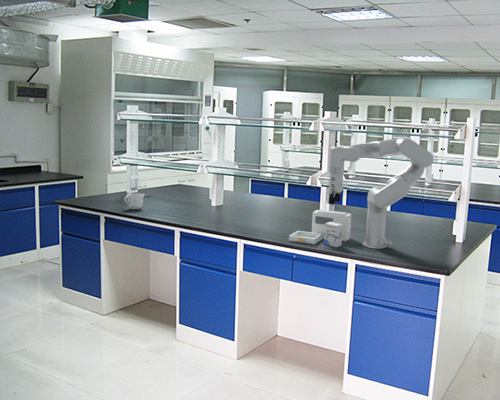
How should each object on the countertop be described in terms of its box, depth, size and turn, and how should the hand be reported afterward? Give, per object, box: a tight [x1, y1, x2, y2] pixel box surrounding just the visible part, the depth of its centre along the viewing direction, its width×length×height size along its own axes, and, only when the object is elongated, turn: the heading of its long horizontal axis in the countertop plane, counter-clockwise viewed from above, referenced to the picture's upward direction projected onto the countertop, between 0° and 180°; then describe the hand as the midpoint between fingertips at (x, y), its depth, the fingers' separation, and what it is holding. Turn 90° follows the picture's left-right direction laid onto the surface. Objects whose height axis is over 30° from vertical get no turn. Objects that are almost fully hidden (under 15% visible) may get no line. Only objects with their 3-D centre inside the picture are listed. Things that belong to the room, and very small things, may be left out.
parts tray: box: [288, 230, 324, 245], centre depth 286 cm, size 15×14×3 cm
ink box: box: [323, 222, 343, 248], centre depth 276 cm, size 9×5×12 cm, turn 44°
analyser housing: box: [311, 209, 352, 242], centre depth 292 cm, size 20×9×15 cm, turn 64°
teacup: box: [124, 192, 145, 210], centre depth 358 cm, size 12×15×10 cm
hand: (334, 202), depth 273 cm, fingers open, 9 cm apart
